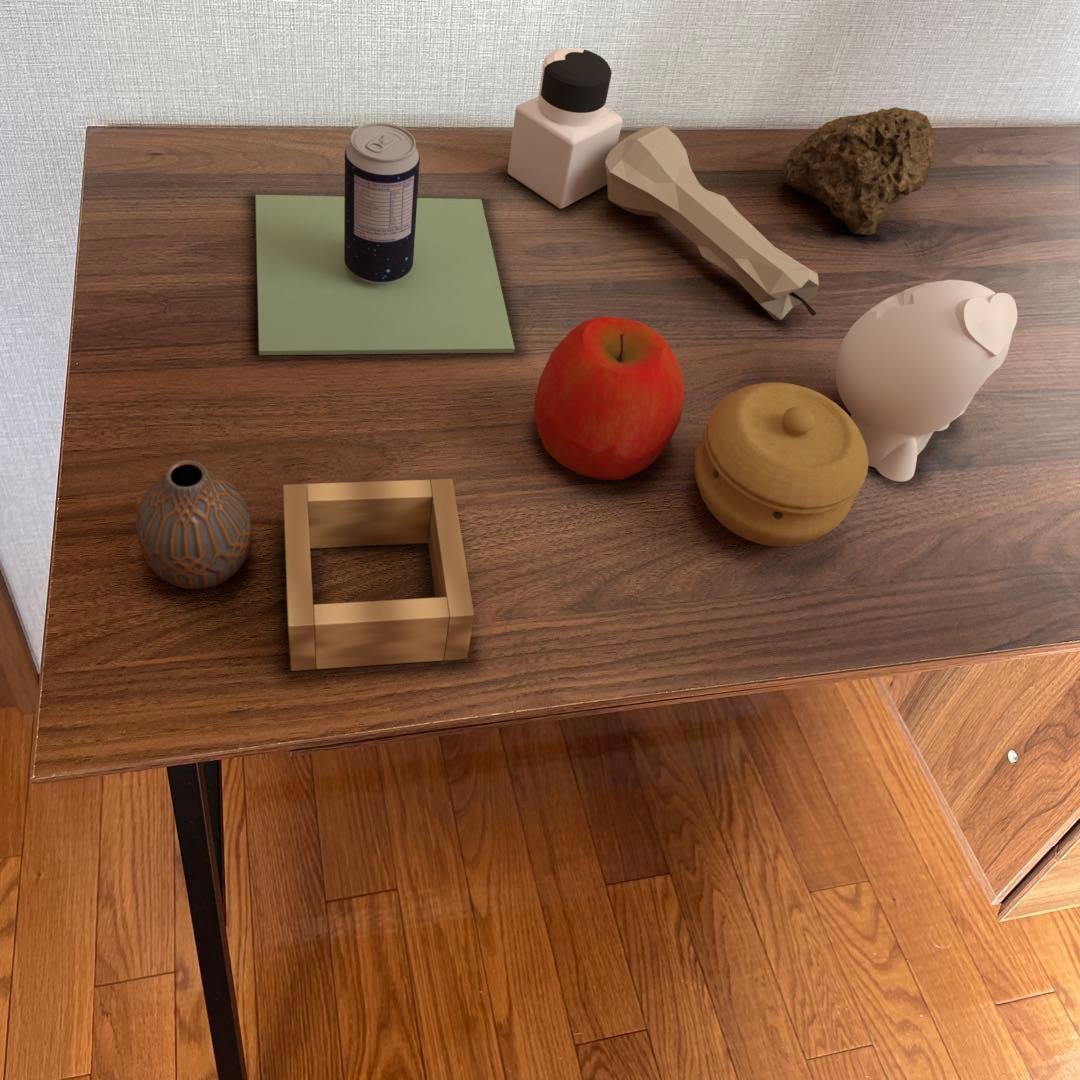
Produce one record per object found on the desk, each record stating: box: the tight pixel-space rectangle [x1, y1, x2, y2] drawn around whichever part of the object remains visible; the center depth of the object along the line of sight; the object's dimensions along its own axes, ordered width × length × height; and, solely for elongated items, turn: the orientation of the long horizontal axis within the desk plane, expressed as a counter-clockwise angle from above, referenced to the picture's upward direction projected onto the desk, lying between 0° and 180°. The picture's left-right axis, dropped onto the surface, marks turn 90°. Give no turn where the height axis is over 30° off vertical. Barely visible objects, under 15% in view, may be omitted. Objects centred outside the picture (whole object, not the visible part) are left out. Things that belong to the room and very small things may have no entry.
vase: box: [135, 459, 253, 590], centre depth 69 cm, size 7×7×9 cm
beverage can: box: [344, 122, 421, 285], centre depth 88 cm, size 6×6×12 cm
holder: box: [282, 478, 475, 672], centre depth 71 cm, size 11×11×5 cm
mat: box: [254, 194, 516, 356], centre depth 93 cm, size 20×20×1 cm
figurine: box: [835, 279, 1018, 483], centre depth 84 cm, size 11×11×15 cm
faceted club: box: [605, 124, 820, 321], centre depth 98 cm, size 9×8×25 cm
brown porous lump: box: [781, 107, 935, 236], centre depth 104 cm, size 11×13×15 cm
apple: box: [533, 316, 686, 481], centre depth 80 cm, size 11×11×11 cm
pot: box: [693, 381, 869, 547], centre depth 79 cm, size 12×12×10 cm
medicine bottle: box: [507, 47, 623, 210], centre depth 101 cm, size 7×7×12 cm
